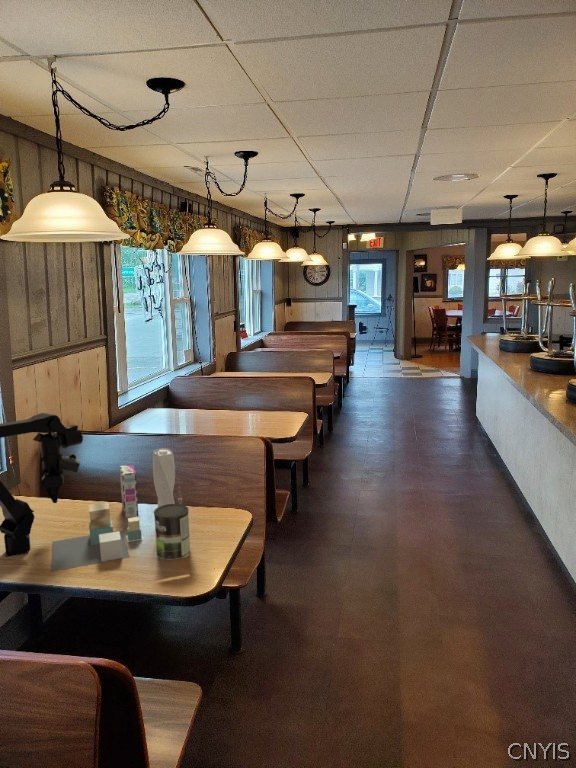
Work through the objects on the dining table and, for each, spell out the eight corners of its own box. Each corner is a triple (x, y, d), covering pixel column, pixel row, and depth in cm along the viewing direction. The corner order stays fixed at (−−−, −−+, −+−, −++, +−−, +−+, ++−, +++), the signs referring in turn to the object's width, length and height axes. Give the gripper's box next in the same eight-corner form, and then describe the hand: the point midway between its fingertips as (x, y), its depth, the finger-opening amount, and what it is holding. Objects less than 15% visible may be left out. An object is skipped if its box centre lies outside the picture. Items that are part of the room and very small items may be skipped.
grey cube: (101, 561, 174) (99, 542, 173) (100, 552, 179) (98, 534, 178) (122, 557, 176) (121, 539, 175) (120, 549, 181) (119, 531, 180)
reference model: (127, 543, 187) (126, 523, 185) (126, 537, 191) (124, 517, 190) (143, 540, 188) (142, 521, 187) (141, 534, 193) (140, 515, 192)
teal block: (90, 545, 185) (89, 530, 184) (90, 536, 191) (88, 522, 190) (114, 541, 187) (112, 526, 186) (112, 532, 193) (111, 518, 192)
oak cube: (91, 529, 184) (89, 511, 183) (90, 522, 190) (88, 504, 189) (110, 526, 186) (109, 508, 185) (109, 519, 192) (108, 502, 191)
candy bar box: (139, 517, 207) (136, 472, 204) (125, 519, 205) (121, 474, 202) (135, 506, 217) (132, 463, 214) (122, 508, 216) (118, 465, 213)
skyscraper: (174, 530, 195) (169, 450, 190) (151, 528, 197) (146, 448, 192) (184, 520, 203) (180, 442, 198) (163, 518, 205) (158, 441, 200)
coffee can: (167, 565, 172) (164, 520, 170) (150, 553, 180) (147, 509, 177) (197, 554, 179) (194, 510, 176) (180, 542, 186) (177, 500, 184)
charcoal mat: (51, 573, 169) (50, 571, 169) (52, 543, 188) (52, 541, 188) (129, 559, 176) (129, 557, 176) (123, 531, 196) (123, 529, 195)
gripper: (78, 456, 183) (82, 504, 186) (76, 441, 200) (80, 485, 203) (39, 461, 179) (44, 509, 182) (41, 445, 196) (46, 489, 199)
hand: (55, 497), depth 191 cm, fingers open, 9 cm apart
